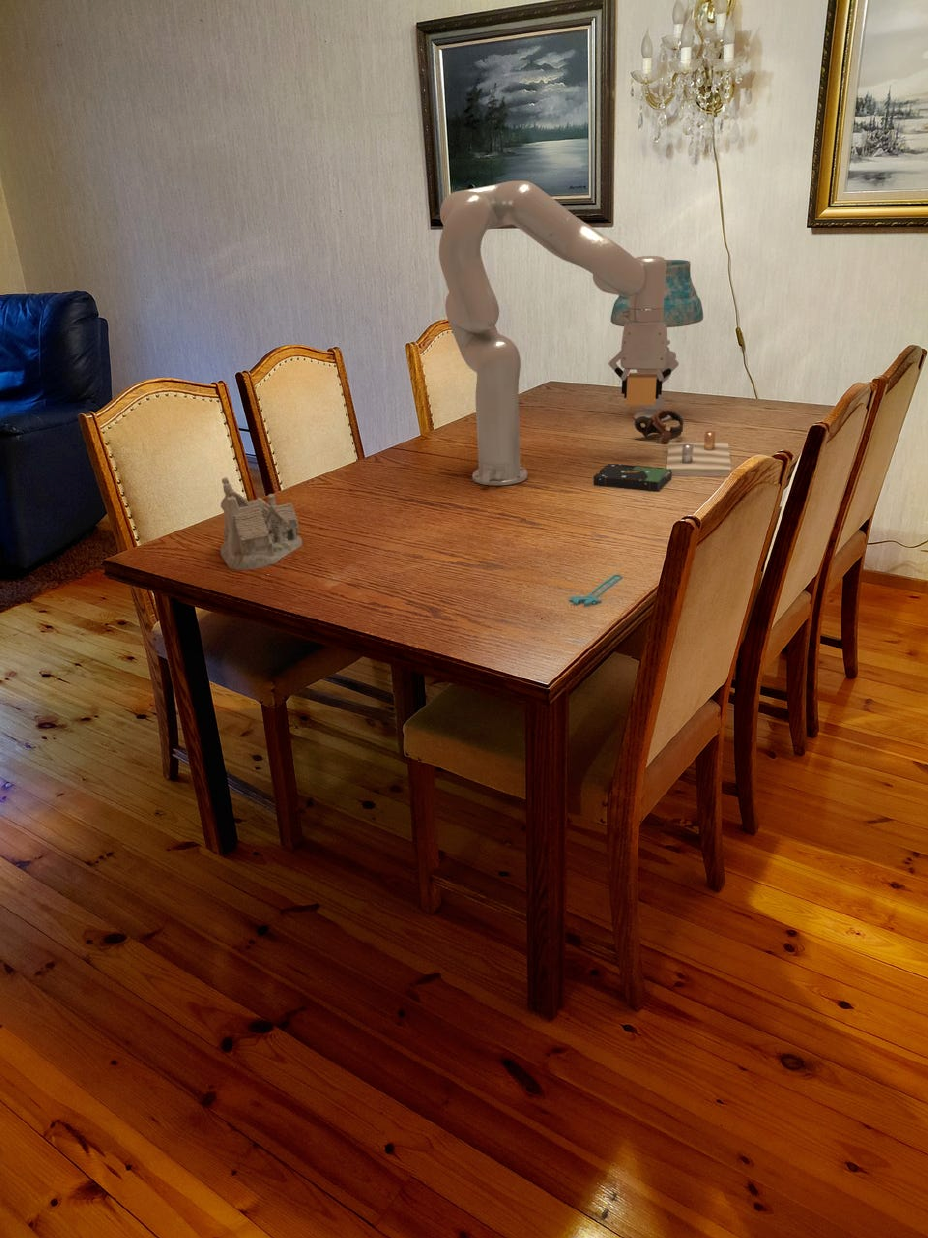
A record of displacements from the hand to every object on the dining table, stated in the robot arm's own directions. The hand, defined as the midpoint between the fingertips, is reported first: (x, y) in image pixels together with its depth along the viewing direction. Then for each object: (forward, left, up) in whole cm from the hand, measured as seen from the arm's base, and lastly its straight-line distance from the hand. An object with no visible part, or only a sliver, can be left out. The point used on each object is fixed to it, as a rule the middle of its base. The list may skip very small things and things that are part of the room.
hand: (641, 396), depth 211 cm
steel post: (-7, -11, -13) cm, 19 cm away
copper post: (+4, -16, -13) cm, 21 cm away
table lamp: (+39, -1, -15) cm, 42 cm away
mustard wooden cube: (0, 0, -1) cm, 1 cm away
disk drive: (-18, +1, -15) cm, 23 cm away
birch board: (-2, -13, -15) cm, 20 cm away
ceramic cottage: (-65, +67, -15) cm, 95 cm away
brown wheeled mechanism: (+18, -4, -15) cm, 24 cm away
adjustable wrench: (-77, +2, -15) cm, 78 cm away
